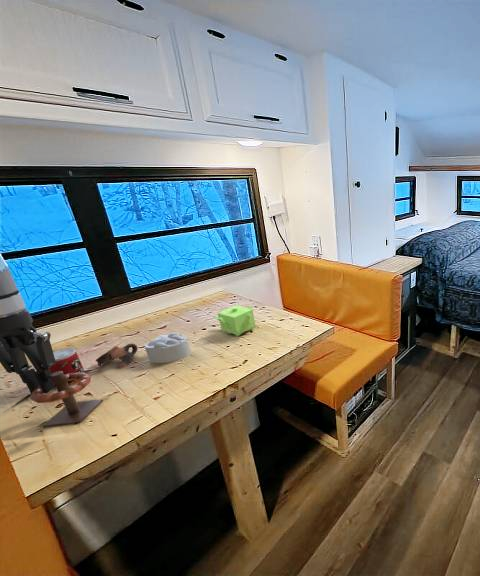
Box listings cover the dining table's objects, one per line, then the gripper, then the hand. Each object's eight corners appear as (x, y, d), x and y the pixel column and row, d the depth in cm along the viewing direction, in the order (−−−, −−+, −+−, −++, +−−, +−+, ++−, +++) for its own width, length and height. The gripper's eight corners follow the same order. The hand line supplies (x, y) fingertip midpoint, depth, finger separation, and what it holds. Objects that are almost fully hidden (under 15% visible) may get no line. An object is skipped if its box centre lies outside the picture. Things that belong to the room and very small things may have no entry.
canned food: (74, 388, 99) (60, 360, 95) (48, 390, 99) (33, 361, 95) (93, 374, 106) (82, 347, 102) (69, 376, 106) (56, 348, 102)
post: (44, 430, 83) (21, 386, 78) (71, 406, 91) (51, 365, 86) (81, 425, 84) (61, 382, 79) (104, 403, 92) (87, 362, 87)
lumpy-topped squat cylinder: (165, 350, 120) (159, 330, 117) (197, 350, 120) (192, 330, 117) (145, 365, 111) (138, 344, 108) (180, 365, 110) (174, 344, 107)
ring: (19, 406, 78) (16, 400, 77) (57, 379, 89) (54, 373, 88) (70, 401, 80) (67, 395, 79) (101, 375, 91) (99, 369, 90)
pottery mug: (115, 376, 106) (95, 359, 103) (108, 379, 111) (89, 363, 108) (148, 351, 115) (130, 335, 112) (140, 355, 120) (123, 340, 117)
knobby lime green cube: (256, 335, 130) (251, 312, 126) (219, 342, 125) (213, 317, 121) (257, 321, 143) (253, 299, 139) (224, 326, 139) (218, 304, 135)
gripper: (52, 304, 80) (85, 379, 88) (-15, 309, 78) (25, 385, 86) (25, 316, 73) (63, 396, 81) (-50, 322, 71) (-3, 403, 79)
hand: (43, 390), depth 84 cm, fingers closed on ring, 2 cm apart
